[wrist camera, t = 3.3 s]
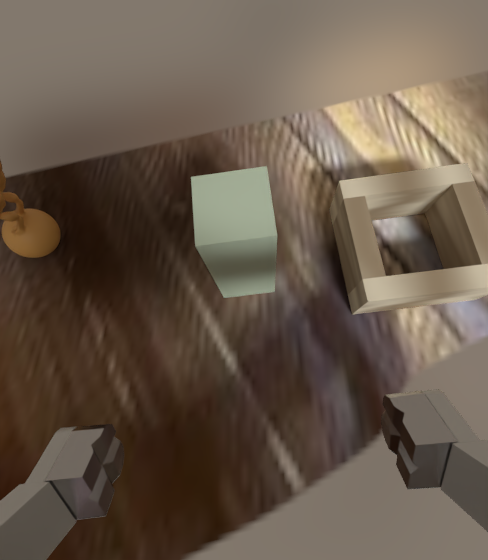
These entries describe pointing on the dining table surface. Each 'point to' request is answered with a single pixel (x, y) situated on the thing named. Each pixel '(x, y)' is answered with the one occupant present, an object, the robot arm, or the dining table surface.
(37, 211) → the figurine
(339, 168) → the dining table surface
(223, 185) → the sage-green peg
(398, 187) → the beige square socket frame
